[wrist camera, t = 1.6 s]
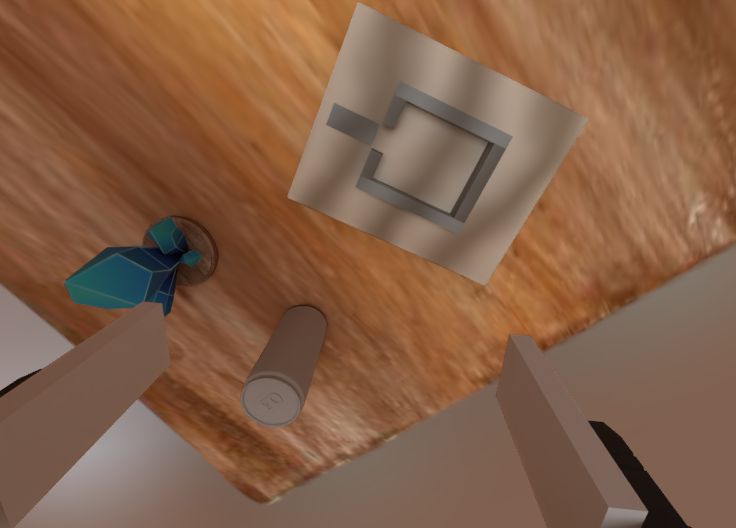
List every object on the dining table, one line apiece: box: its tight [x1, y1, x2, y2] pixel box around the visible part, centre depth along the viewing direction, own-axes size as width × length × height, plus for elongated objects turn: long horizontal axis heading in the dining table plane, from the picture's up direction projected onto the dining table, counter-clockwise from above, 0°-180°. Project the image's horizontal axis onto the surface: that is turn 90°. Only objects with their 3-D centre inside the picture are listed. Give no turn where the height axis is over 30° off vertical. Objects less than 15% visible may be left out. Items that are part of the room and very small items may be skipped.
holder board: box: [287, 2, 589, 286], centre depth 31 cm, size 20×16×3 cm
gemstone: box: [64, 216, 217, 316], centre depth 31 cm, size 7×9×12 cm
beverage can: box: [241, 306, 327, 427], centre depth 33 cm, size 5×5×12 cm
